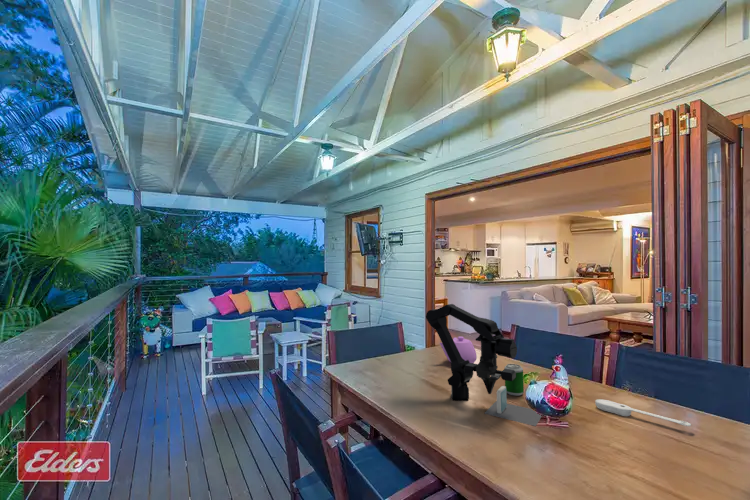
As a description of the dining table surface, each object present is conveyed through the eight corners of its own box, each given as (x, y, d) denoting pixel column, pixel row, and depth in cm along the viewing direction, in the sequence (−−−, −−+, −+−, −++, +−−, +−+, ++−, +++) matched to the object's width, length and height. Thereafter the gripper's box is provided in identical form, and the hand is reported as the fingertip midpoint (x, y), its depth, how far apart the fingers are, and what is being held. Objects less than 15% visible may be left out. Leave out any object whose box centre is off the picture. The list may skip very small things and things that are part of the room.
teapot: (434, 359, 206) (434, 333, 206) (467, 357, 208) (467, 332, 208) (445, 369, 186) (444, 341, 187) (481, 367, 188) (480, 339, 189)
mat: (484, 414, 132) (484, 413, 132) (495, 402, 143) (495, 401, 143) (535, 427, 121) (535, 426, 121) (544, 412, 132) (544, 411, 132)
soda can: (525, 397, 147) (524, 368, 147) (506, 396, 148) (505, 368, 149) (521, 391, 154) (521, 363, 154) (503, 390, 156) (503, 362, 156)
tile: (497, 412, 132) (496, 391, 132) (502, 406, 138) (502, 385, 138) (501, 413, 131) (501, 392, 131) (507, 407, 137) (506, 386, 137)
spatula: (693, 430, 117) (692, 422, 117) (689, 436, 114) (689, 427, 114) (598, 404, 139) (598, 397, 139) (593, 408, 135) (592, 401, 135)
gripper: (457, 354, 137) (458, 395, 136) (507, 362, 126) (508, 406, 125) (468, 348, 146) (469, 386, 145) (515, 355, 135) (516, 396, 134)
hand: (489, 393), depth 137 cm, fingers closed
